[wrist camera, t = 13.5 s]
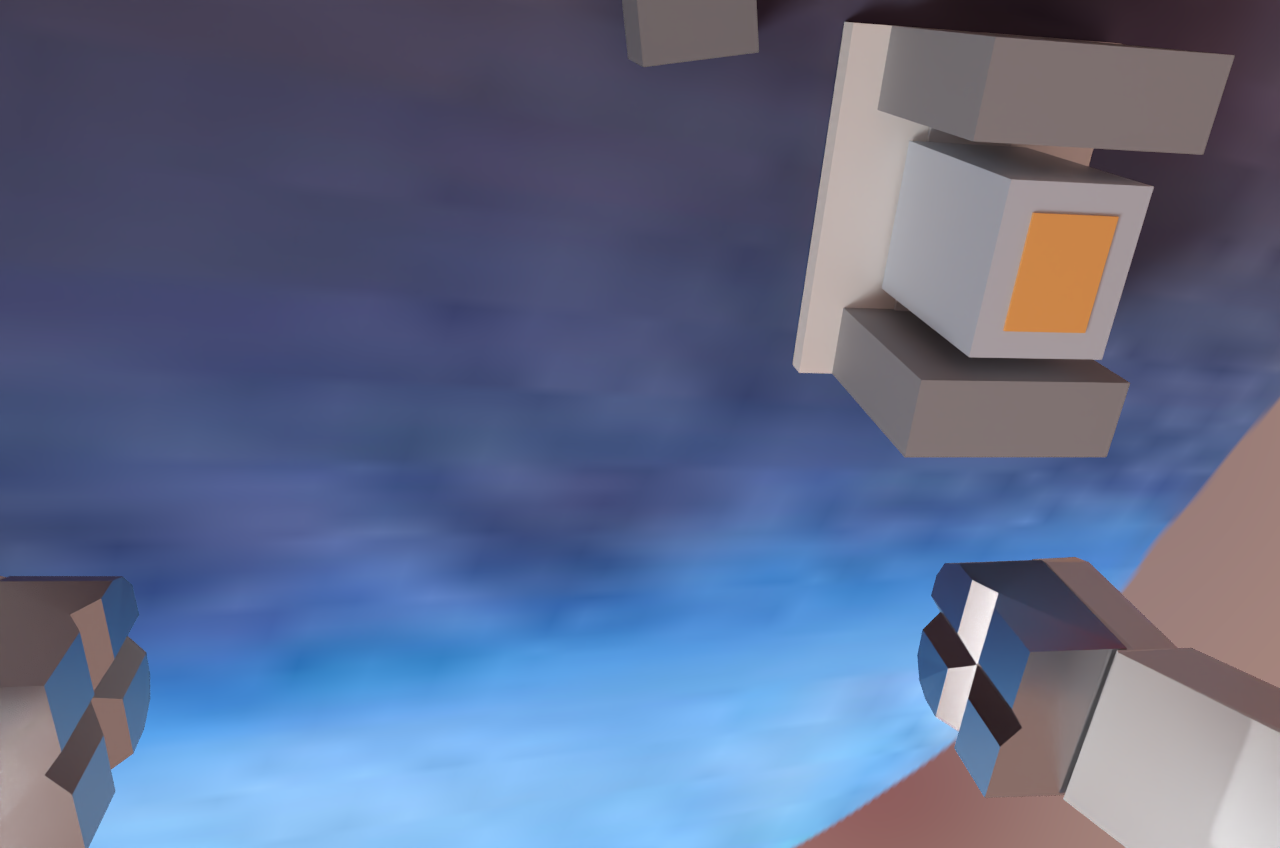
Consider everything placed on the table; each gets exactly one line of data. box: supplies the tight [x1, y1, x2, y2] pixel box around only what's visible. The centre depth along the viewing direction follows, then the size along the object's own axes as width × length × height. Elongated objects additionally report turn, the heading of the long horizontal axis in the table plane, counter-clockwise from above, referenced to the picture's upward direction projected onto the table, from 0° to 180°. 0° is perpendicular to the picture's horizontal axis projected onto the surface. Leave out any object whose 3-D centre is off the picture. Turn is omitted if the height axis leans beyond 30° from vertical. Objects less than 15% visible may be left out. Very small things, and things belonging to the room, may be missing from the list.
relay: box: [622, 0, 759, 67], centre depth 32 cm, size 3×4×4 cm
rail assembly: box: [793, 22, 1235, 457], centre depth 35 cm, size 14×11×9 cm
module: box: [882, 141, 1154, 360], centre depth 34 cm, size 6×5×8 cm
